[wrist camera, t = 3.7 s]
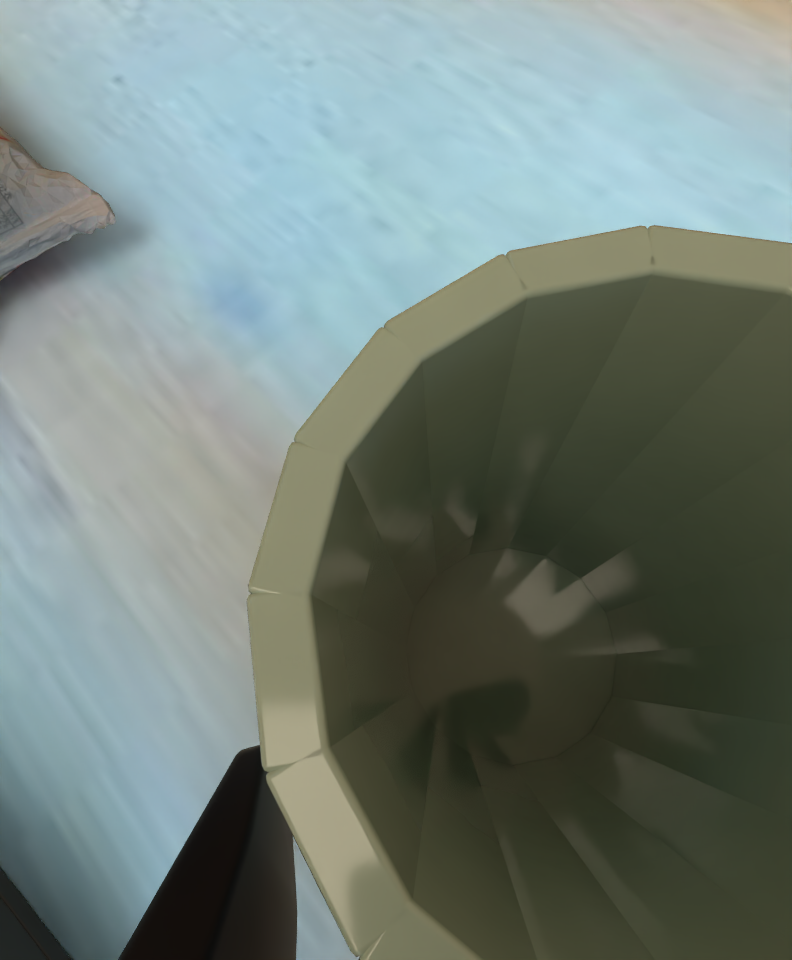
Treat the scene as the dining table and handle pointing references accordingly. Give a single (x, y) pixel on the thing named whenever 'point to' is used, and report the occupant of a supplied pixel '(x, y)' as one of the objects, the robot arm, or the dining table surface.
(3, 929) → the tub
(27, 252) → the packaged food
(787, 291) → the tumbler
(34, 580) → the dining table surface
